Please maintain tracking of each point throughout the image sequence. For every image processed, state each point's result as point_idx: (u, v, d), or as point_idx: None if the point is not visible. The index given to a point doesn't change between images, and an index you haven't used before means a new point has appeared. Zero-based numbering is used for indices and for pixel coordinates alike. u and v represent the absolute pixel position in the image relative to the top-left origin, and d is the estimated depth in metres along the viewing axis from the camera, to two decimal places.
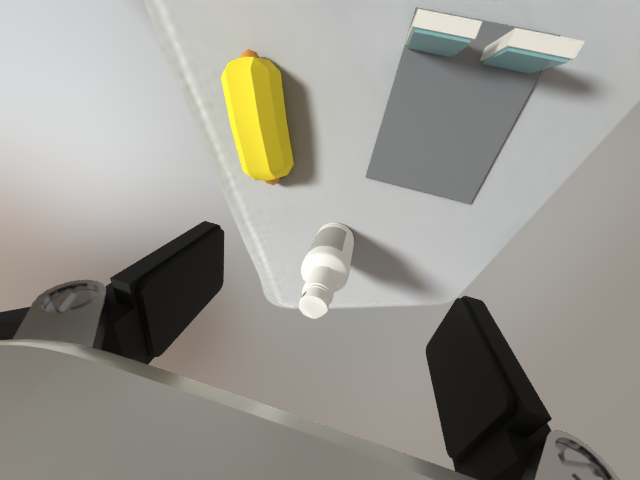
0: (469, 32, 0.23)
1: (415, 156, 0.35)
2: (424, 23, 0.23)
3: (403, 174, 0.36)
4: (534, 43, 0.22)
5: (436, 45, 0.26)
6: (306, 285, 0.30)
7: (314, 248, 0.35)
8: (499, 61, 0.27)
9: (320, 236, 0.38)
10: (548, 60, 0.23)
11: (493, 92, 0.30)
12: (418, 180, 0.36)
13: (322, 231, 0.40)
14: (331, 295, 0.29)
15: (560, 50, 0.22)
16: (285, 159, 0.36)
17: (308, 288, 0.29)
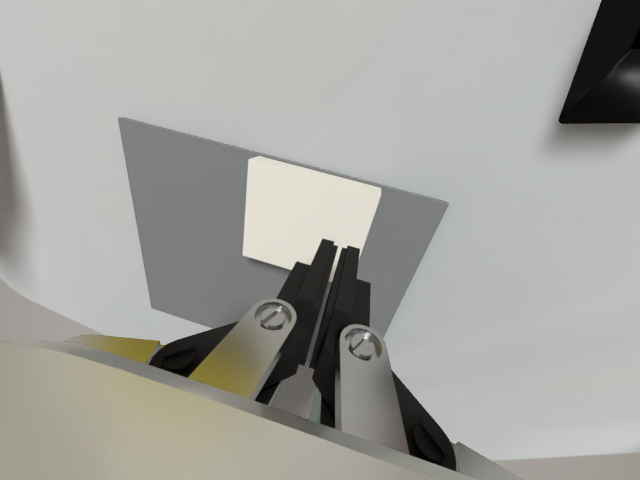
0: None
1: (191, 224, 0.17)
2: None
3: (155, 204, 0.17)
4: None
5: None
6: None
7: None
8: None
9: None
10: None
11: None
12: (155, 233, 0.18)
13: None
14: None
15: None
16: None
17: None
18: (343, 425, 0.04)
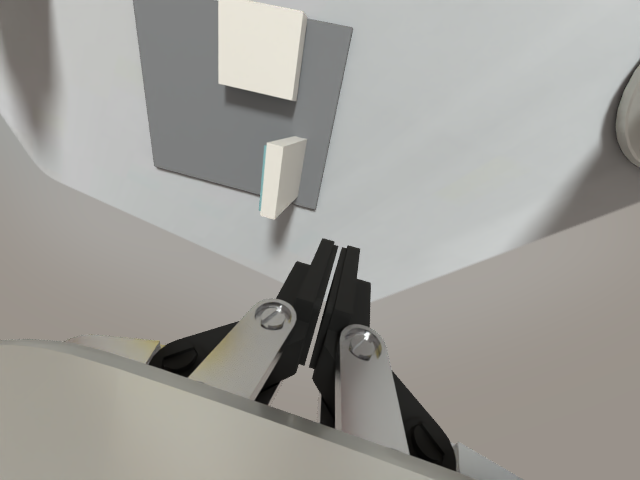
0: None
1: (183, 74, 0.24)
2: None
3: (156, 59, 0.24)
4: (270, 172, 0.19)
5: None
6: None
7: None
8: None
9: None
10: None
11: None
12: (156, 87, 0.25)
13: None
14: None
15: (266, 200, 0.20)
16: None
17: None
18: (343, 425, 0.04)
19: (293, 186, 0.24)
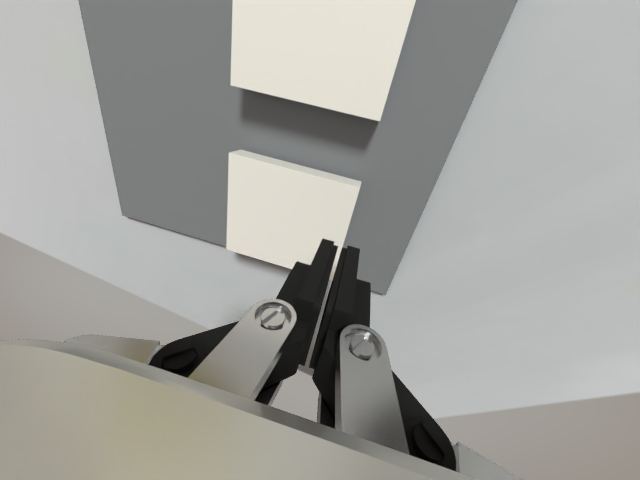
0: None
1: (164, 68, 0.13)
2: None
3: (115, 39, 0.13)
4: None
5: None
6: None
7: None
8: None
9: None
10: None
11: None
12: (118, 90, 0.14)
13: None
14: None
15: None
16: None
17: None
18: (343, 425, 0.04)
19: (298, 245, 0.14)
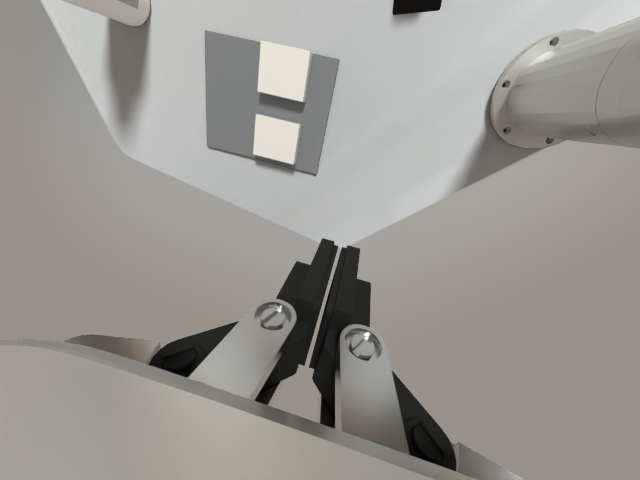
0: None
1: (233, 85, 0.37)
2: None
3: (216, 75, 0.37)
4: None
5: None
6: None
7: None
8: None
9: None
10: None
11: None
12: (214, 93, 0.39)
13: None
14: None
15: None
16: None
17: None
18: (343, 425, 0.04)
19: (280, 149, 0.39)
